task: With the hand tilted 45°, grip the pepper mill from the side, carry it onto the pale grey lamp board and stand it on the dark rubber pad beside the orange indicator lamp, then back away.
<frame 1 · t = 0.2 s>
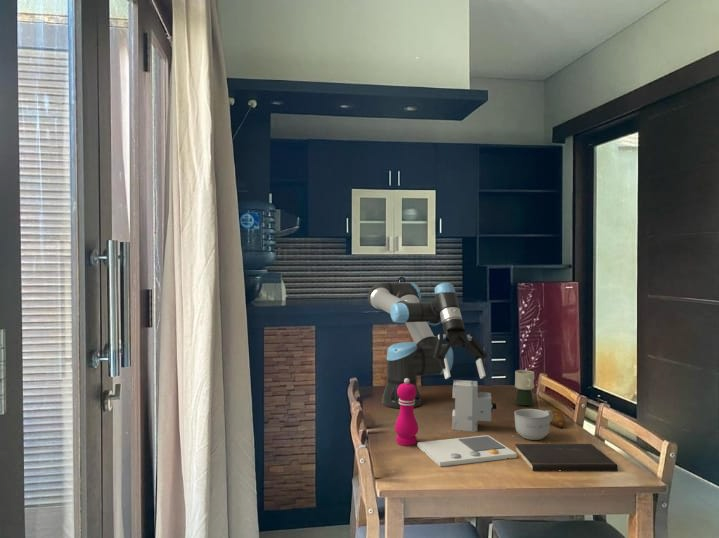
hand: (465, 377, 183), 16 cm above the table, tool tilted 35°, fingers open, 13 cm apart
lamp board: (465, 451, 157), on the table
croissant: (554, 423, 185), on the table
pepper mill: (406, 443, 165), on the table
circuit breaker: (473, 428, 179), on the table
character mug: (524, 405, 206), on the table
hardcover book: (563, 462, 151), on the table
teacup: (535, 437, 171), on the table
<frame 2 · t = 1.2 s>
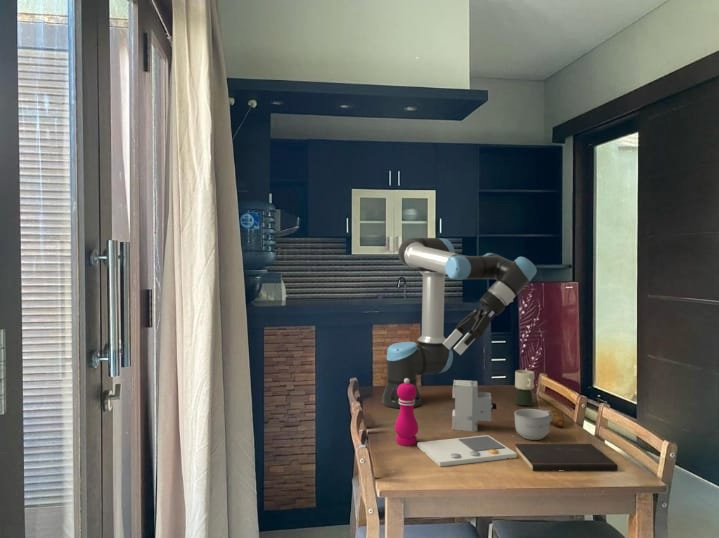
hand: (451, 349, 165), 29 cm above the table, tool tilted 45°, fingers open, 13 cm apart
nothing on the table moved.
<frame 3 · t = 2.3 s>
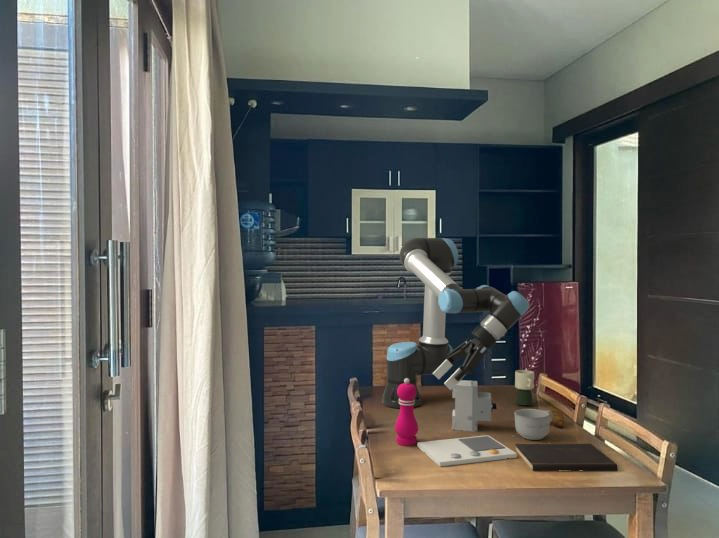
hand: (441, 381, 165), 19 cm above the table, tool tilted 45°, fingers open, 13 cm apart
nothing on the table moved.
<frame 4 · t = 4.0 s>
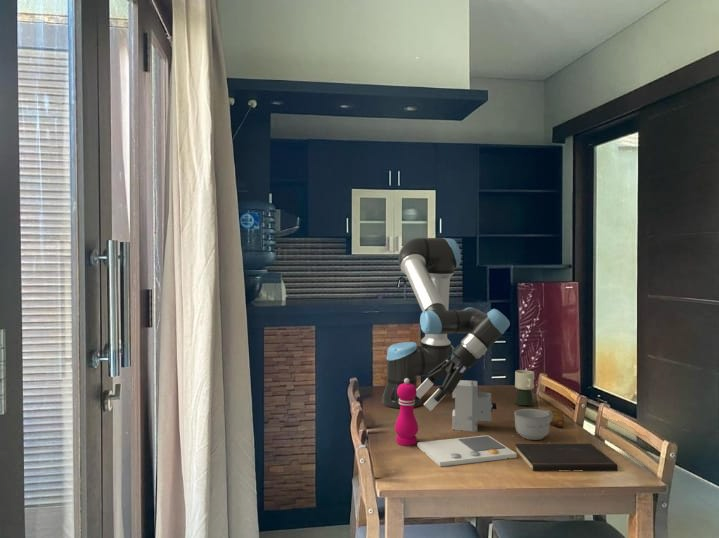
hand: (421, 401, 163), 13 cm above the table, tool tilted 45°, fingers open, 13 cm apart
nothing on the table moved.
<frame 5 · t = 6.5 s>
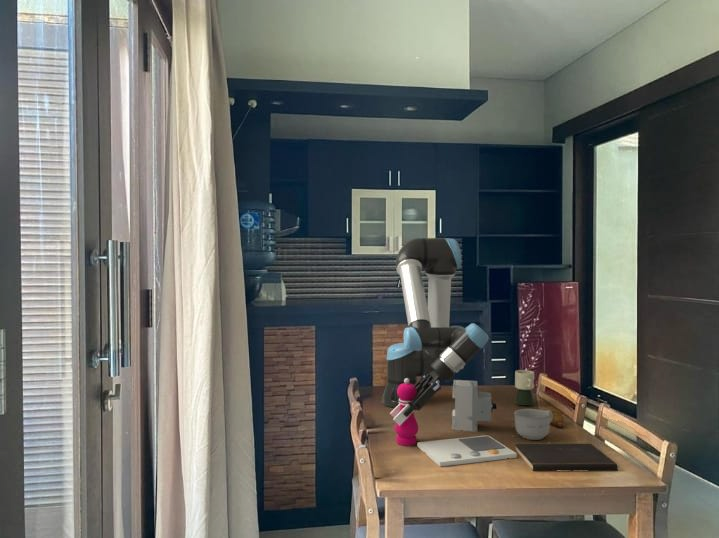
hand: (394, 419, 164), 7 cm above the table, tool tilted 45°, fingers closed on pepper mill, 5 cm apart
pepper mill: (406, 443, 165), on the table, touching gripper
everything else where it was.
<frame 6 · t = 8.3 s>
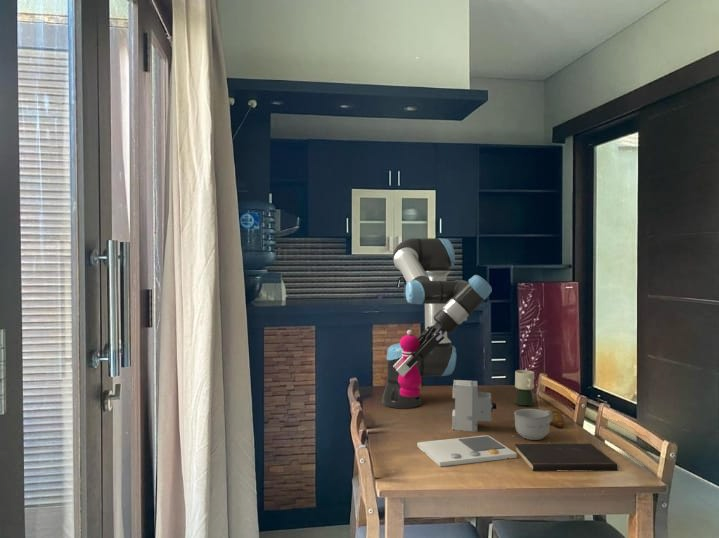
hand: (397, 371, 163), 22 cm above the table, tool tilted 45°, fingers closed on pepper mill, 5 cm apart
pepper mill: (409, 395, 164), point 15 cm above the table, touching gripper
everything else where it was.
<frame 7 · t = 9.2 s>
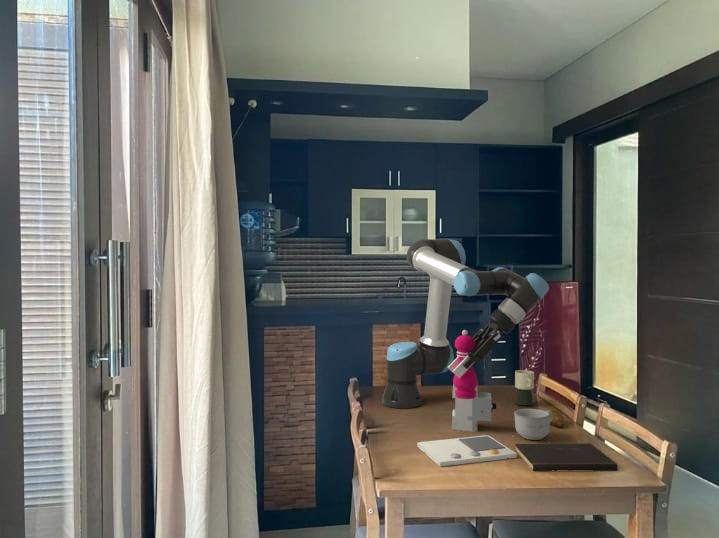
hand: (453, 372, 159), 23 cm above the table, tool tilted 45°, fingers closed on pepper mill, 5 cm apart
pepper mill: (465, 397, 160), point 15 cm above the table, touching gripper
everything else where it was.
when the fingers open (10 cm above the table, at t = 12.2 s): pepper mill stays where it is, resting on lamp board.
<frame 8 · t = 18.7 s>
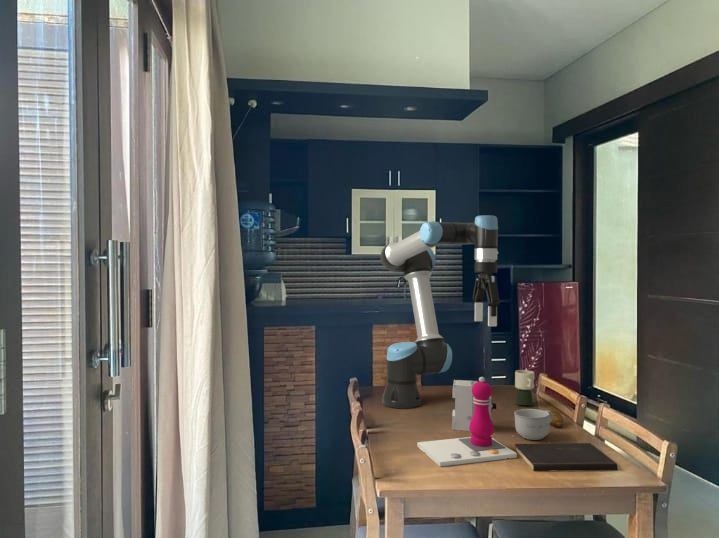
hand: (485, 323, 181), 35 cm above the table, tool pointing down, fingers open, 13 cm apart
pepper mill: (481, 443, 160), point 1 cm above the table, touching lamp board
everything else where it was.
at the end: pepper mill inside the target area (0.1 cm from its centre), point 1.3 cm above the table; pepper mill tilted 0°; the gripper is holding nothing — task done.
